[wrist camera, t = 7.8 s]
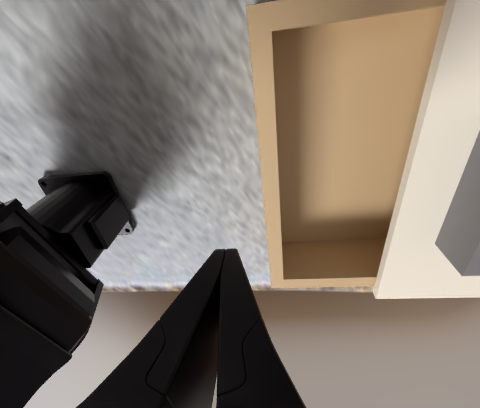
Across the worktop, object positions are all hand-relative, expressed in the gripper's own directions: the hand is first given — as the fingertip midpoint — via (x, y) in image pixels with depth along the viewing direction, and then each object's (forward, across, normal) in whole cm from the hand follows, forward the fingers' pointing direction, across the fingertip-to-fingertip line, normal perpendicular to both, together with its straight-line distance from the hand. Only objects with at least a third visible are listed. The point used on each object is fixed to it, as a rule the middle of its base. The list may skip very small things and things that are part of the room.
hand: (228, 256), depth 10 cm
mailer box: (+11, -8, +1) cm, 14 cm away
